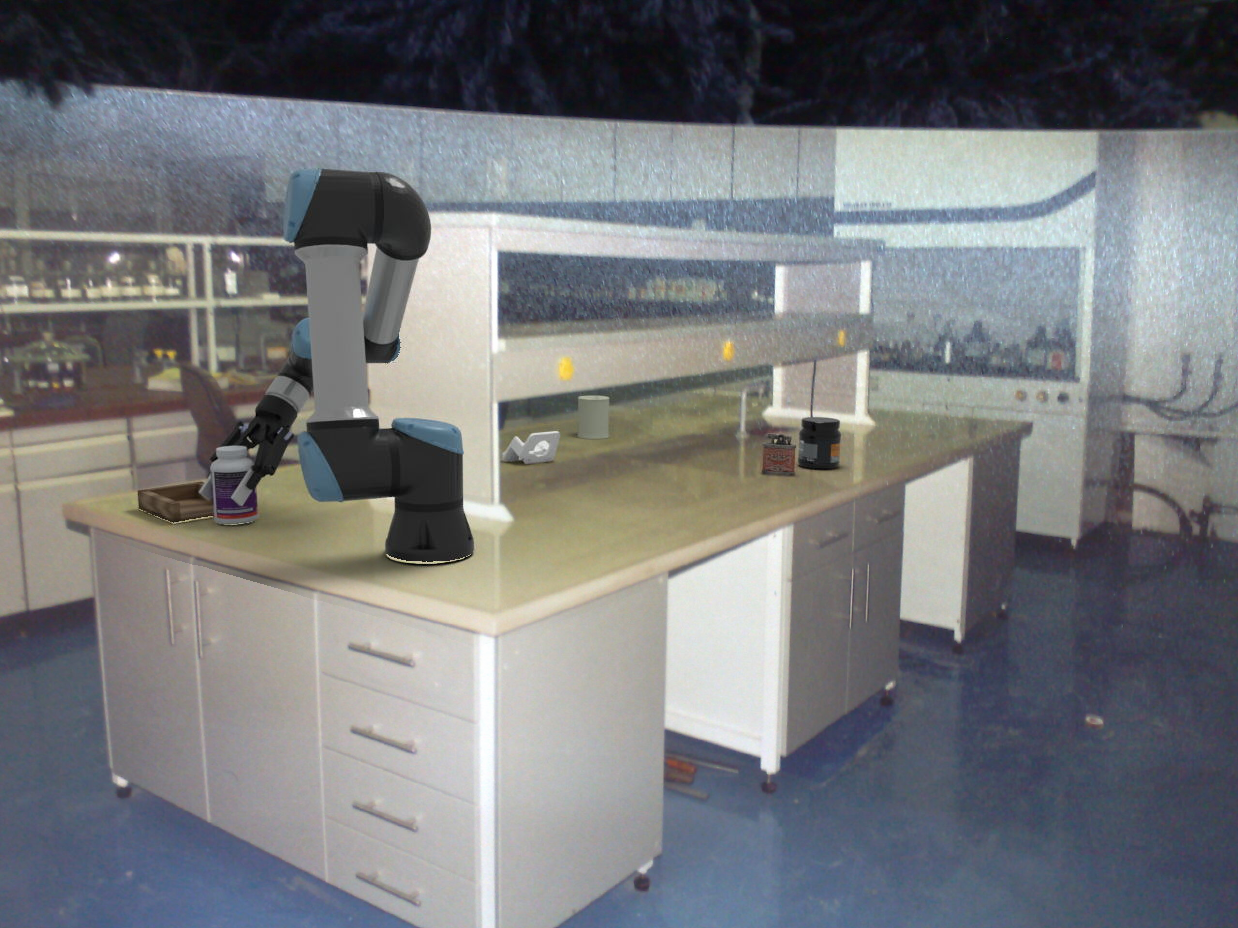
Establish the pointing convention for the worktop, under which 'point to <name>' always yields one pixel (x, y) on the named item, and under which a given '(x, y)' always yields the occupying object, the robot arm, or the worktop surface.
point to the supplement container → (819, 443)
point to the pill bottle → (231, 486)
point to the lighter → (779, 455)
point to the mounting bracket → (533, 448)
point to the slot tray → (176, 502)
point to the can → (593, 417)
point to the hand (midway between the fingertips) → (220, 499)
